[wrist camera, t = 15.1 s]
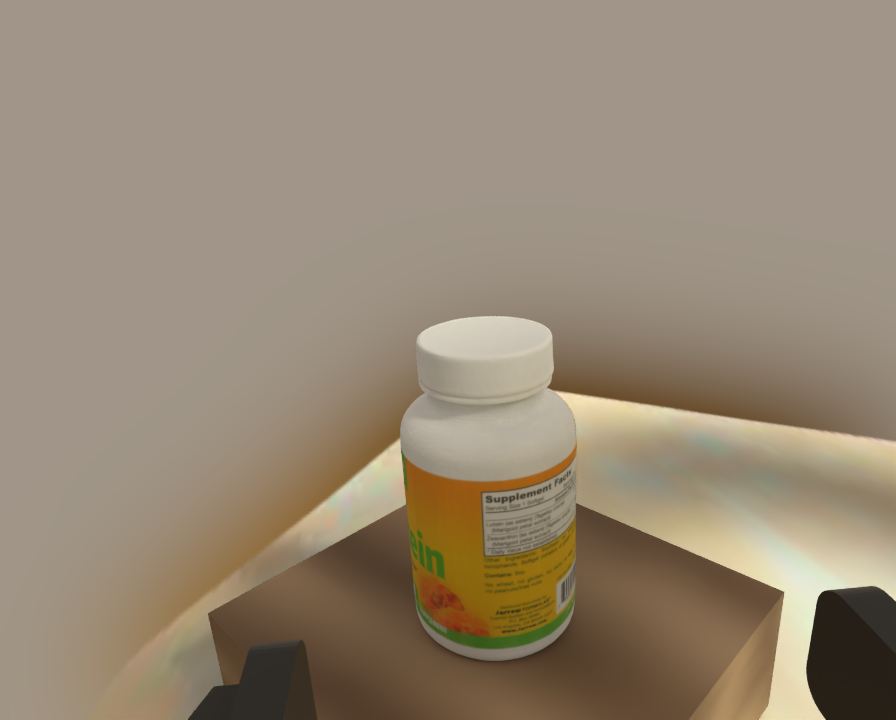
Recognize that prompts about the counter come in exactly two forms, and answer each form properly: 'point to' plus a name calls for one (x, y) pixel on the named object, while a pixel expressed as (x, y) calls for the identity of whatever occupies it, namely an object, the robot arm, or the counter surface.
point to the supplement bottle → (490, 489)
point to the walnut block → (534, 676)
